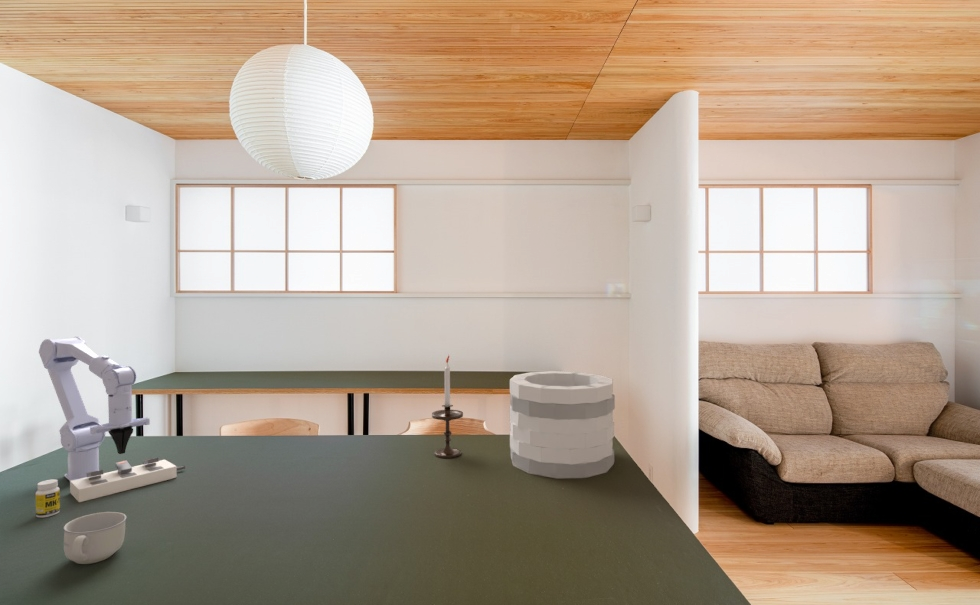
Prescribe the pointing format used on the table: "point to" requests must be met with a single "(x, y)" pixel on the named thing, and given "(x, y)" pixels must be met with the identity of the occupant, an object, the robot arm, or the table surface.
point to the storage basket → (562, 423)
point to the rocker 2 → (123, 467)
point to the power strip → (122, 480)
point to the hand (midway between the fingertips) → (121, 452)
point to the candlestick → (447, 419)
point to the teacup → (94, 537)
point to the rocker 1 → (94, 473)
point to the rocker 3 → (150, 461)
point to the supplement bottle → (47, 498)
